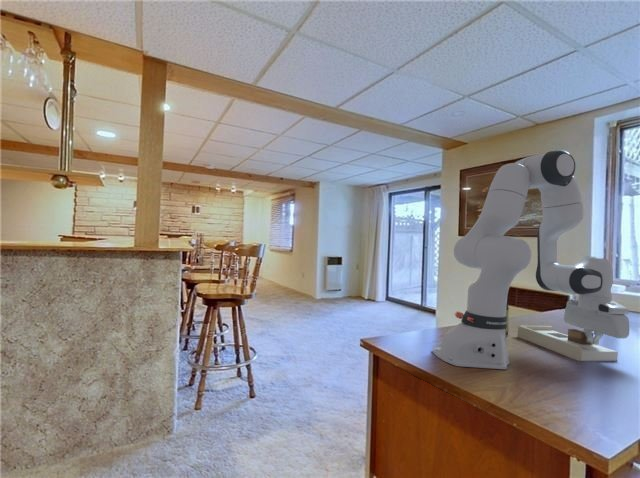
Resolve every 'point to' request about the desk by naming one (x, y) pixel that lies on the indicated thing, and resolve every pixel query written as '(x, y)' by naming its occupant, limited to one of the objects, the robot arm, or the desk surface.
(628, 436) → the desk surface
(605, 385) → the desk surface
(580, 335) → the walnut block
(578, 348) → the board
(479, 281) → the robot arm
